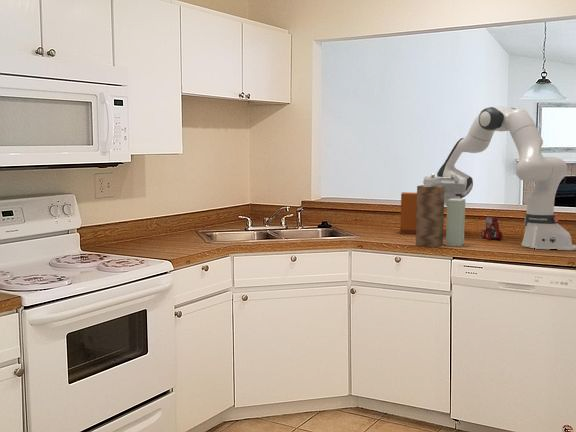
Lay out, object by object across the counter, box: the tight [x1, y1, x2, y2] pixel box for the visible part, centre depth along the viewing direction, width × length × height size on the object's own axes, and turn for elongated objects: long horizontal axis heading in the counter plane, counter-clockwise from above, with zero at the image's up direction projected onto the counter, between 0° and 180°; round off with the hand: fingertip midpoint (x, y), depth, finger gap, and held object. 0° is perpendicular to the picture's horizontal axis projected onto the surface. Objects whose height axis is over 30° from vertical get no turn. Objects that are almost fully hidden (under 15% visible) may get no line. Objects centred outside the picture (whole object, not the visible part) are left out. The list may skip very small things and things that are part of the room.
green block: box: [445, 198, 466, 247], centre depth 302 cm, size 6×10×20 cm, turn 155°
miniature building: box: [399, 192, 417, 236], centre depth 340 cm, size 10×9×20 cm
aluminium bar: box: [423, 178, 441, 187], centre depth 302 cm, size 3×20×3 cm, turn 155°
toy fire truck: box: [480, 215, 503, 241], centre depth 321 cm, size 7×12×10 cm, turn 6°
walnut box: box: [415, 184, 445, 248], centre depth 300 cm, size 10×9×26 cm
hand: (442, 175), depth 319 cm, fingers open, 8 cm apart
